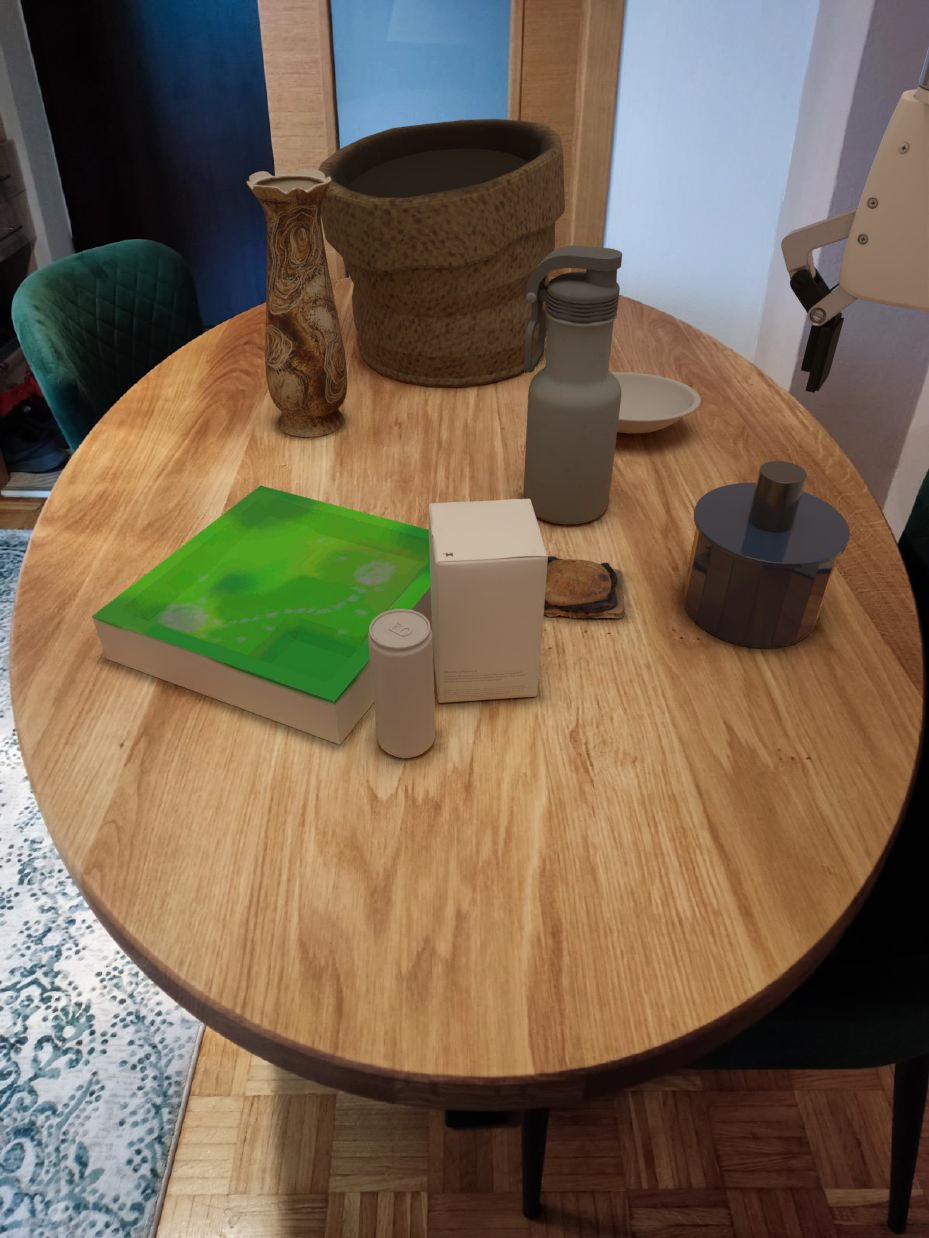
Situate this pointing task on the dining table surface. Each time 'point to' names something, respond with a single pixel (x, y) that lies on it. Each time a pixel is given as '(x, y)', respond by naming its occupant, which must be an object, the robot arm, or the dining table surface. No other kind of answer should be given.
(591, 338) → the water bottle
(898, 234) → the robot arm
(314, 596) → the flat green box
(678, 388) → the dish
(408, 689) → the beverage can
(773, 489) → the lid
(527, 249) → the pot
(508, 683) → the white product box
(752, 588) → the enamel pot
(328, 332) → the vase
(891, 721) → the dining table surface
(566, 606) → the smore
